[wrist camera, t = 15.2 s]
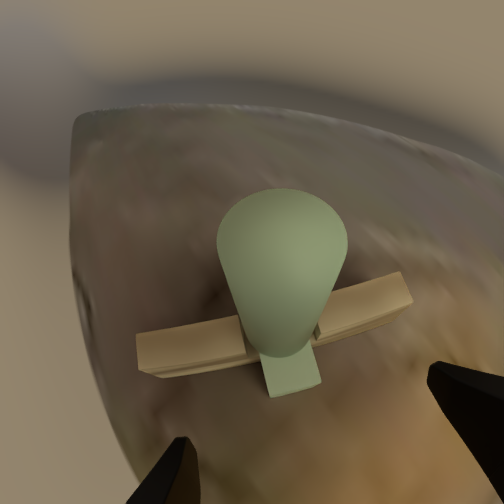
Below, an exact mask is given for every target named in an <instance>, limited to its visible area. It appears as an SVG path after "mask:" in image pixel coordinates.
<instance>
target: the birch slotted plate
mask: <svg viewBox="0 0 504 504" xmlns="http://www.w3.org/2000/svg"><path fill="white" fill-rule="evenodd" d="M412 303H413V300H412V297H411V295H410V293H409V290H408V288H407V286H406V284H405V281H404V279H403V277H402V275H401V273H400V271H399V272H396V273H393V274H390V275H386V276H383V277H380V278H377V279H373V280H370V281H367V282H363V283H360V284H357V285H353V286H350V287H346V288H343V289H339V290H335V291H332V292H331V293H330V296H329V298H328V300H327V302H326V305H325V307H324V309H323V311H322V314H321V316H320V318H319V320H318V322H317V324H316V326H315V329H314V331H313V333H312V335H311V337H310V339H309V340H310V343H311V346H312V348H314V347H318V346H321V345H324V344H328V343H331V342H334V341H337V340H341V339H344V338H347V337H350V336H353V335H356V334H359V333H362V332H365V331H368V330H370V329H373V328H376V327H379V326H382V325H384V324H387V323H390V322H392V321H393V320H394V319H396V318H397V317H398V316H399V315H400V314H401V313H402V312H403V311H404V310H406V309H407V308H408V307H409V306H410V305H411V304H412ZM136 347H137V359H138V370H140V371H143V372H146V373H149V374H151V375H154V376H157V377H160V378H168V377H176V376H183V375H190V374H197V373H203V372H209V371H214V370H220V369H225V368H231V367H236V366H241V365H245V364H250V363H255V362H259V361H261V359H260V355H259V352H258V351H257V350H256V349H255V348H254V347H253V346H252V345H251V344H250V342H249V341H248V338H247V336H246V333H245V331H244V328H243V325H242V324H241V322H240V320H239V317H238V315H234V316H229V317H225V318H220V319H215V320H210V321H205V322H200V323H195V324H190V325H184V326H179V327H173V328H168V329H162V330H156V331H150V332H144V333H138V334H136Z"/></svg>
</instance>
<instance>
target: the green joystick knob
mask: <svg viewBox="0 0 504 504" xmlns="http://www.w3.org/2000/svg"><path fill="white" fill-rule="evenodd" d="M216 243H217V251H218V255H219V259H220V262H221V265H222V268H223V270H224V273H225V276H226V279H227V282H228V285H229V288H230V291H231V294H232V297H233V300H234V302H235V305H236V308H237V311H238V314H239V317H240V319H241V322H242V325H243V328H244V331H245V333H246V336H247V338H248V341H249V342H250V344H251V345H252V346H253V347H254V348H255V349H256V350H257V351H258V352H259V355H260V359H261V363H262V367H263V371H264V376H265V380H266V384H267V388H268V392H269V396H270V398H274V397H278V396H282V395H286V394H290V393H294V392H298V391H301V390H305V389H308V388H312V387H314V386H316V385H318V384H319V383H321V382H322V381H321V377H320V374H319V370H318V367H317V363H316V360H315V357H314V353H313V350H312V346H311V343H310V340H309V339H310V337H311V335H312V333H313V331H314V329H315V326H316V324H317V322H318V320H319V318H320V316H321V314H322V311H323V309H324V307H325V305H326V302H327V300H328V298H329V296H330V293H331V291H332V289H333V286H334V284H335V282H336V279H337V277H338V275H339V272H340V270H341V267H342V265H343V262H344V260H345V258H346V253H347V246H348V241H347V234H346V230H345V227H344V225H343V222H342V221H341V219H340V217H339V216H338V214H337V213H336V212H335V211H334V210H333V209H332V208H331V207H330V206H329V205H328V204H327V203H325V202H324V201H323V200H321V199H319V198H318V197H316V196H314V195H312V194H309V193H306V192H303V191H299V190H294V189H284V188H279V189H269V190H264V191H260V192H257V193H254V194H251V195H249V196H247V197H245V198H244V199H242V200H240V201H239V202H238V203H236V204H235V205H234V206H233V207H232V208H231V209H230V210H229V211H228V212H227V214H226V215H225V216H224V218H223V220H222V221H221V224H220V226H219V229H218V233H217V242H216Z"/></svg>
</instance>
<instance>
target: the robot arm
mask: <svg viewBox="0 0 504 504" xmlns="http://www.w3.org/2000/svg"><path fill="white" fill-rule="evenodd" d="M427 385H428V387H429V389H430V391H431V392H432V394H433V396H434V398H435V399H436V401H437V403H438V405H439V406H440V408H441V410H442V412H443V413H444V415H445V416H446V417H447V419H448V420H449V422H450V423H451V424H452V426H453V427H454V429H455V430H456V431H457V433H458V434H459V436H460V437H461V438H462V440H463V441H464V443H465V444H466V446H467V447H468V449H469V450H470V451H471V453H472V454H473V456H474V457H475V459H476V460H477V462H478V463H479V465H480V466H481V468H482V470H483V471H484V473H485V474H486V476H487V477H488V479H489V481H490V482H491V484H492V486H493V487H494V489H495V490H496V492H497V494H498V495H499V497H500V499H501V500H502V502H503V504H504V377H502V376H498V375H494V374H489V373H485V372H481V371H477V370H473V369H469V368H465V367H461V366H457V365H453V364H450V363H446V362H442V361H437V362H435V363H433V364H431V365H430V367H429V371H428V376H427ZM200 496H201V490H200V479H199V469H198V459H197V452H196V449H195V448H194V446H193V444H192V443H191V441H190V439H189V438H188V437H186V436H184V437H176V438H175V439H174V440H173V442H172V443H171V444H170V446H169V447H168V448H167V450H166V451H165V453H164V454H163V455H162V457H161V458H160V459H159V461H158V462H157V463H156V465H155V466H154V467H153V468H152V470H151V471H150V472H149V474H148V475H147V476H146V478H145V479H144V480H143V481H142V483H141V484H140V485H139V487H138V488H137V489H136V490H135V492H134V493H133V494H132V495H131V497H130V498H129V499H128V501H127V502H126V504H200Z"/></svg>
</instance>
